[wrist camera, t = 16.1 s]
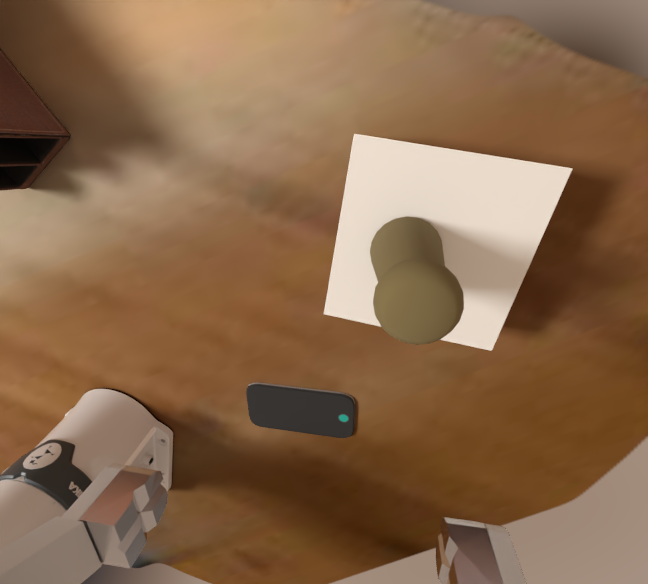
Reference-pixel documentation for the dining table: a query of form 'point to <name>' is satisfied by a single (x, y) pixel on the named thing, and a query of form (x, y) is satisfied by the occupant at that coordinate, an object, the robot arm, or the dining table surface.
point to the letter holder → (24, 130)
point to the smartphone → (301, 409)
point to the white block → (444, 225)
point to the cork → (414, 282)
